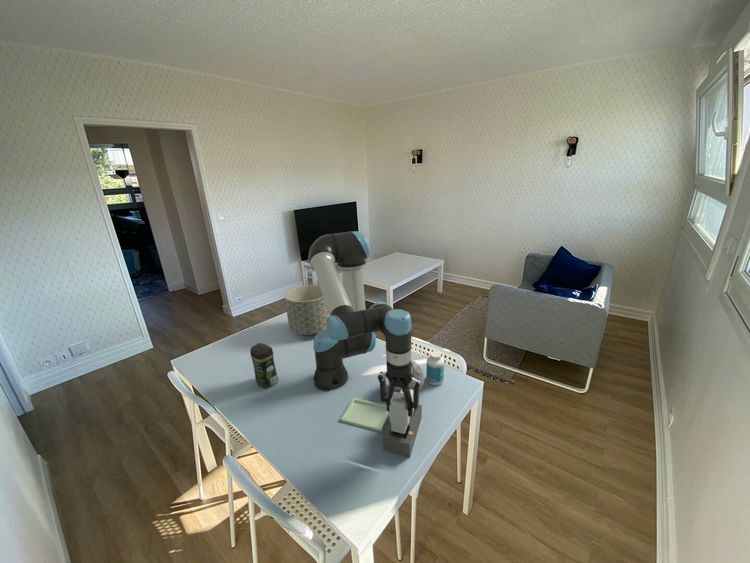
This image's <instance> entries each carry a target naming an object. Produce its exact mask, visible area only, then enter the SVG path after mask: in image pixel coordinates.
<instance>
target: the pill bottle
mask: <svg viewBox="0 0 750 563" xmlns="http://www.w3.org/2000/svg"><path fill="white" fill-rule="evenodd" d="M425 373H426V374H425V375H426V377H425V378H426V382H427V383H428V384H429V385H432V386H440V385H442V384H443V382H444V376H445V359H444V358H443V357H442V353H441V352H440V351H438V350H437V351H435V350H433V351H431V352H430V353H429V356H428V357H427V358H426V372H425Z"/></svg>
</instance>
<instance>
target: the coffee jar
mask: <svg viewBox="0 0 750 563" xmlns="http://www.w3.org/2000/svg"><path fill="white" fill-rule="evenodd" d="M249 351H250V358H251V360H252V364H253V371H254V378H255V381H256V384H257V385H258V386H260V387H261V388H264V389H267V388H270V387H273V386H275V385H276V384H277V383H278V382H279V381H278V380H279V378H278V372H277V369H276V365H275V359H274V350H273V348H272V347H271V346H270V345H268V344H266V343H263V342H258V343H256V344H254V345H252V346H251V348H250V350H249Z"/></svg>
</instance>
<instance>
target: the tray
mask: <svg viewBox="0 0 750 563" xmlns="http://www.w3.org/2000/svg"><path fill="white" fill-rule="evenodd" d="M389 416H390V412H388V411H387V404H385V403H380V402H375V401H370V400H366V399H363V398H357V397H353V398H352V399H351V400H350V402H349V404H348V406H347V407H346V410H345V411H344V412H343V414H342V416H341V418H340V422H343V423H347V424H349V425H355V426H357V427H358V426H359V427H361V428H367V429H370V430H373V431H374V430H375V431H378V432H381V433H382V431H383V429H384V427H385V425H386V422H387V420H388V417H389Z"/></svg>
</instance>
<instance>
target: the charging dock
mask: <svg viewBox="0 0 750 563" xmlns="http://www.w3.org/2000/svg"><path fill="white" fill-rule="evenodd" d="M409 390H410V393H411V397H412V401H413V390H412V389H409ZM400 393H403V391H402V389H401V391H400ZM403 394H404V393H403ZM422 407H423V405H422V404H418V407H417V409H414V408H413V413H412V416H411V417H410V421H409V424H408V426H407V429H406V432H405V434H402V433H398V432H394V431H391V422H390V420H389V421H388V424H387V425H386V429H385V431H384V433H383V436H382V449H383V451H386V452H388V453H393V454H396V455H400V456H403V457H407V458H411V456H412V453H413V449H414V447H415V446H414V445H415V442H416V439H417V436H418V432H419V430H420V429H419V428H420V425H421V421H422V418H423V417H422V413H423V412H422V410H423V409H422Z"/></svg>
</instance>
